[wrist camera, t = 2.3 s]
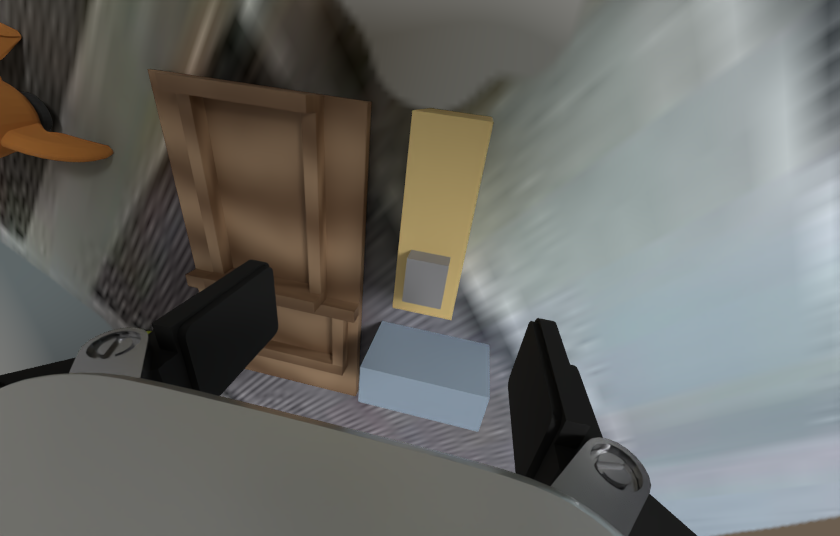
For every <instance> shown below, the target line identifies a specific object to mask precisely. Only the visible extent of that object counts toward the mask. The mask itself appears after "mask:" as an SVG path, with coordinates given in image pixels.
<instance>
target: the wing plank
mask: <svg viewBox="0 0 840 536" xmlns="http://www.w3.org/2000/svg"><path fill="white" fill-rule="evenodd" d="M489 398H490V370H489V345H487V344H483V343H478V342H474V341H469V340H465V339H460V338H456V337H451V336H447V335H442V334H438V333H433V332H429V331H425V330H420V329H416V328H411V327H407V326H402V325H398V324H393V323H389V322H384V321H382V322H381V325H380V327H379V329H378V331H377V333H376V335H375V337H374V339H373V341H372V343H371V345H370V347H369V350H368V352H367V354H366V356H365V358H364V360H363V362H362V364H361V366H360V381H359V401H358V402H362V403H366V404H370V405H374V406H378V407H382V408H386V409H390V410H394V411H398V412H402V413H406V414H410V415H414V416H418V417H422V418H426V419H430V420H434V421H438V422H442V423H446V424H449V425H453V426H457V427H461V428H465V429H469V430H473V431H477V432H478V431H479V428H480V425H481V422H482V419H483V416H484V413H485V410H486V407H487V404H488V401H489Z"/></svg>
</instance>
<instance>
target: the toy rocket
mask: <svg viewBox="0 0 840 536" xmlns="http://www.w3.org/2000/svg"><path fill="white" fill-rule="evenodd" d="M20 40H21V35H20V33H19V32H18V31H17V30H15V29H13V28H11V27H9V26H7V25H5V24H2V23H0V60H2V59H3V58H4V57H5V56H6V55H7V54H8V53H9V52H10V51H11V49H12V48H13V47H14V46H15V45H16V44H17V43H18V42H19V41H20ZM51 128H52V118H51V115H50V113H49V111H48V109H47V108H46V106H45V105H44V104H43V102H42V101H41V100H40V99H39V98H37V97H36V96H35V95H33V94H31V93H28V92H21V91H18V90H16V89H15V88H14V87H12V86H11V85H9V84H8V83H6V82H4V81H2V80H1V76H0V158H2V157H4V156H7V155H9V154H12V153H14V152H21V153H24V154H27V155H31V156H35V157H39V158H44V159H50V160H56V161H65V162H90V161H96V160H101V159H105V158H108V157H109V156H111V155H112V154H113V151H112V149H111V148H110V147H109V146H107V145H103V144H99V143H96V142H92V141H88V140H84V139H80V138H77V137H74V136H70V135H67V134H63V133H58V132H48V131H50V130H51Z"/></svg>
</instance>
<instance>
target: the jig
mask: <svg viewBox="0 0 840 536" xmlns="http://www.w3.org/2000/svg"><path fill="white" fill-rule="evenodd" d="M148 73H149V77H150V81H151V86H152V90H153V94H154V98H155V102H156V106H157V110H158V114H159V119H160V123H161V127H162V131H163V135H164V139H165V143H166V147H167V152H168V156H169V160H170V164H171V168H172V172H173V176H174V180H175V185H176V189H177V193H178V197H179V201H180V205H181V209H182V213H183V218H184V222H185V226H186V230H187V234H188V238H189V242H190V246H191V251H192V255H193V259H194V263H195V267H196V269H194V270H193V271H191V272H189V273H187V274H186V279H187V283H188V286H191V287H196V288H198V290H199V292H201V291H202V290H204V289H205V288H207V287H208V286H210V285H211V284H213V283H214V282H216V281H218V280H219V279H221V278H222V277H224V276H225V275H227V274H228V273H230V272H231V271H233V270H234V269H236V268H237V267H239V266H240V265H242V264H244V263H245V262H247V261H248V260H257V261H262V262H266V263H268V264H269V267H271V268H272V269H273V276H274V286H275V296H276V306H277V316H278V330H277V333H276V334H275V336H274V337H273V338H272V339H271V340H270V341H269V342H268V343H267V345H266V346H265V347H264V348H263V349H262V350H261V351H260V352H259V353H258V354H257V356H256V357H255V358H254V359H253V360H252V361H251V362H250V363H249V364H248V365H247V366H246V368H245V369H248V370H252V371H256V372H260V373H264V374H268V375H272V376H276V377H280V378H284V379H288V380H292V381H296V382H300V383H304V384H308V385H312V386H316V387H321V388H325V389H329V390H333V391H337V392H341V393H345V394H349V395H353V396H356V394H357V392H358V382H359V361H360V339H361V318H362V296H363V275H364V253H365V232H366V210H367V189H368V167H369V146H370V124H371V103H372V102H369V101H362V100H356V99H349V98H342V97H335V96H329V95H322V94H315V93H309V92H302V91H295V90H288V89H282V88H275V87H268V86H262V85H255V84H248V83H241V82H235V81H228V80H221V79H214V78H208V77H201V76H194V75H188V74H181V73H174V72H167V71H161V70H152V69H148Z"/></svg>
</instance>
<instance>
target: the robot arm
mask: <svg viewBox="0 0 840 536" xmlns="http://www.w3.org/2000/svg"><path fill="white" fill-rule="evenodd" d="M152 326H153V329H154V330H153V331H152V332H150V333H149V334H148V333H147V332H146V331H145V330H143V329H140V328H131V327H129V328H120V329H115V330H111V331H108V332H106V333H103V334H100V335H98V336H96V337H95V338H92V339H90V340H89V341H88V342H86V343H85V344H84V345H83V346H82V347H81V349H80V350H79V351H78V354H77V356H76V358H72V359H68V360H64V361H59V362H55V363H51V364H47V365H42V366H38V367H34V368H30V369H25V370H22V371H17V372H13V373H8V374H4V375H0V536H697V535H696V534H695V533H693V532H692V531H691V530H690V529H689V528H688V527H687V526H685V525H684V524H683V523H682V522H681V521H680V520H679V519H678V518H676V517H675V516H674V515H673V514H672V513H671V512H670V511H668V510H667V509H666V508H665V507H664V506H663V505H662V504H661V503H659V502H658V501H657V500H656V499H655V498H654V497H653V496H651V495H650V494H649V493H650V488H651V483H650V479H649V475H648V473H647V472H646V470H645V468H644V466H643V465H642V464H641V462H640V461H639V460H638V459H637V457H636V456H635V455H633V454H632V453H631V452H630V451H629V450H628V449H626V448H625V447H623V446H622V445H620V444H619V443H617V442H614V441H612V440H609V439H606V438H603V437H602V434H601V432H600V429H599V426H598V423H597V420H596V418H595V415H594V412H593V409H592V407H591V404H590V401H589V398H588V396H587V393H586V390H585V387H584V385H583V382H582V379H581V376H580V373H579V371H578V369H577V367H576V366H574V365H570V363H569V360H568V357H567V354H566V351H565V348H564V345H563V342H562V339H561V336H560V334H559V331H558V328H557V325H556V322H554V321H550V320H545V319H540V318H537V319H536V320H535V322H533V321H530V322H529V324H528V327H527V330H526V333H525V336H524V338H523V341H522V344H521V347H520V349H519V352H518V355H517V358H516V361H515V363H514V366H513V369H512V372H511V375H510V378H509V382H508V392H509V404H510V415H511V426H512V438H513V449H514V460H515V471H516V473H513V472H510V471H507V470H504V469H501V468H497V467H494V466H490V465H487V464H483V463H479V462H476V461H472V460H468V459H465V458H461V457H458V456H454V455H450V454H447V453H443V452H439V451H435V450H431V449H427V448H424V447H420V446H416V445H412V444H408V443H404V442H400V441H396V440H393V439H389V438H385V437H381V436H377V435H373V434H369V433H365V432H361V431H358V430H354V429H350V428H346V427H342V426H338V425H334V424H330V423H326V422H322V421H318V420H314V419H310V418H306V417H302V416H298V415H294V414H290V413H286V412H282V411H278V410H274V409H270V408H266V407H262V406H258V405H254V404H250V403H246V402H242V401H238V400H234V399H229V398H225V397H221V396H220V395H221V394H222V393H223V392H224V391H225V389H226V388H227V387H228V386H229V385H230V384H231V383H232V382H233V381H234V380H235V379H236V377H237V376H238V375H239V374H240V373H241V372H242V371H243V370H244V369H245V368H246V366H247V365H248V364H249V363H250V362H251V361H252V360H253V359H254V358H255V357H256V356H257V354H258V353H259V352H260V351H261V350H262V349H263V348H264V347H265V346H266V345H267V343H268V342H269V341H270V340H271V339H272V338H273V337H274V336H275V334H276V333H277V330H278V316H277V306H276V296H275V286H274V276H273V269H272V268H271V267H269V264H268V263H266V262H262V261H257V260H248V261H247V262H245V263H244V264H242V265H240V266H239V267H237V268H236V269H234V270H233V271H231V272H230V273H228V274H227V275H225V276H224V277H222V278H221V279H219V280H218V281H216V282H214V283H213V284H211V285H210V286H208V287H207V288H205V289H204V290H202V291H201V292H199V293H198V294H196V295H195V296H193V297H191V298H190V299H188V300H187V301H185V302H184V303H182V304H181V305H179V306H178V307H176V308H175V309H173V310H172V311H170V312H168V313H167V314H165V315H164V316H162V317H161V318H159V319H158V320H156V321H155V322H153V323H152Z"/></svg>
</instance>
